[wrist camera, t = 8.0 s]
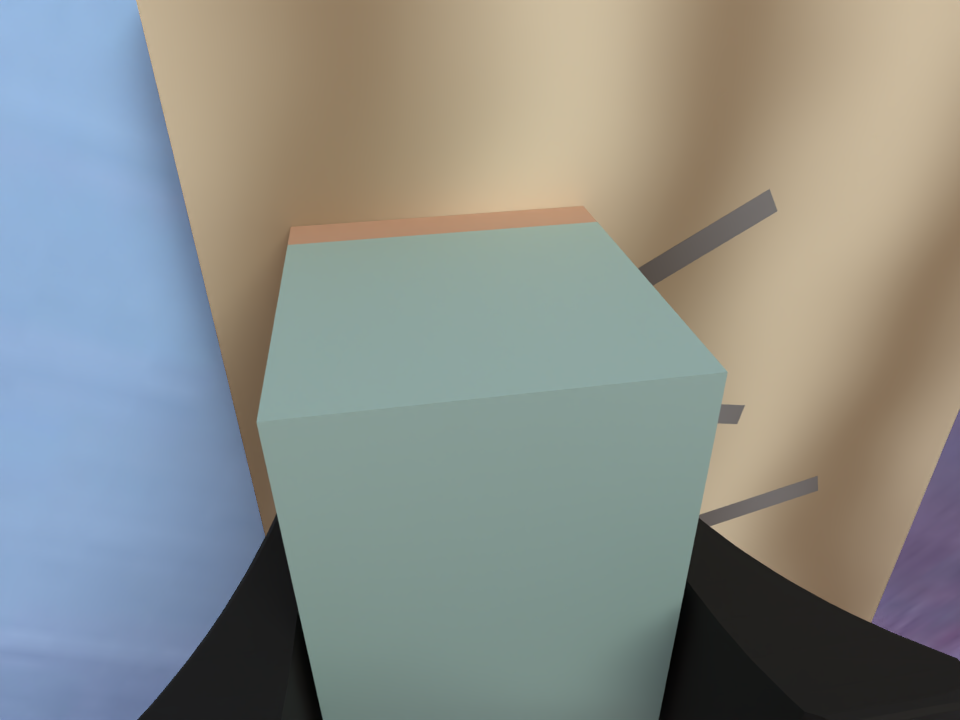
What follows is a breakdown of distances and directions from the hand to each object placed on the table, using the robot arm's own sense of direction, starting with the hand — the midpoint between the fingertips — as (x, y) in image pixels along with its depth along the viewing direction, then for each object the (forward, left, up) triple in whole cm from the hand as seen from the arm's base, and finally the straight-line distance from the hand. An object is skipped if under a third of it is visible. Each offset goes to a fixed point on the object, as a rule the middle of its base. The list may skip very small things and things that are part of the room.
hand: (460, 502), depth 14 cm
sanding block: (0, -1, -1) cm, 1 cm away
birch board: (-4, 0, -3) cm, 5 cm away
